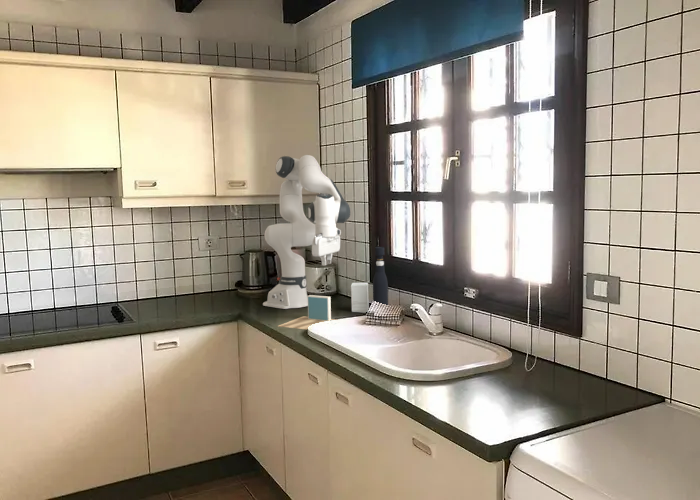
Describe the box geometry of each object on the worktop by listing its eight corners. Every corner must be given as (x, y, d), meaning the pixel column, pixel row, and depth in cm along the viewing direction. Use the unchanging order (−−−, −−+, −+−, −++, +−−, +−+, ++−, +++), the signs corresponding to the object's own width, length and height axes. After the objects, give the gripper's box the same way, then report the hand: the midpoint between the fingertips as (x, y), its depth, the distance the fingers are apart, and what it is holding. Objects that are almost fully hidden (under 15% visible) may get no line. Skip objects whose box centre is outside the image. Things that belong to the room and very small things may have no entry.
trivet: (277, 327, 262) (276, 326, 262) (303, 317, 280) (303, 316, 280) (319, 332, 253) (319, 330, 253) (343, 321, 270) (343, 320, 270)
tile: (307, 319, 274) (307, 295, 273) (310, 318, 276) (310, 295, 275) (328, 321, 269) (327, 297, 268) (331, 320, 271) (330, 296, 270)
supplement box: (369, 309, 294) (368, 282, 292) (367, 313, 286) (367, 285, 285) (352, 309, 294) (352, 282, 293) (351, 313, 287) (350, 285, 286)
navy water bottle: (390, 315, 281) (389, 246, 277) (384, 318, 275) (383, 248, 271) (376, 314, 283) (375, 246, 280) (371, 317, 277) (369, 247, 274)
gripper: (321, 234, 264) (322, 268, 265) (342, 230, 282) (343, 261, 284) (307, 234, 266) (308, 267, 268) (329, 230, 285) (330, 261, 286)
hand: (326, 264), depth 276 cm, fingers open, 3 cm apart
